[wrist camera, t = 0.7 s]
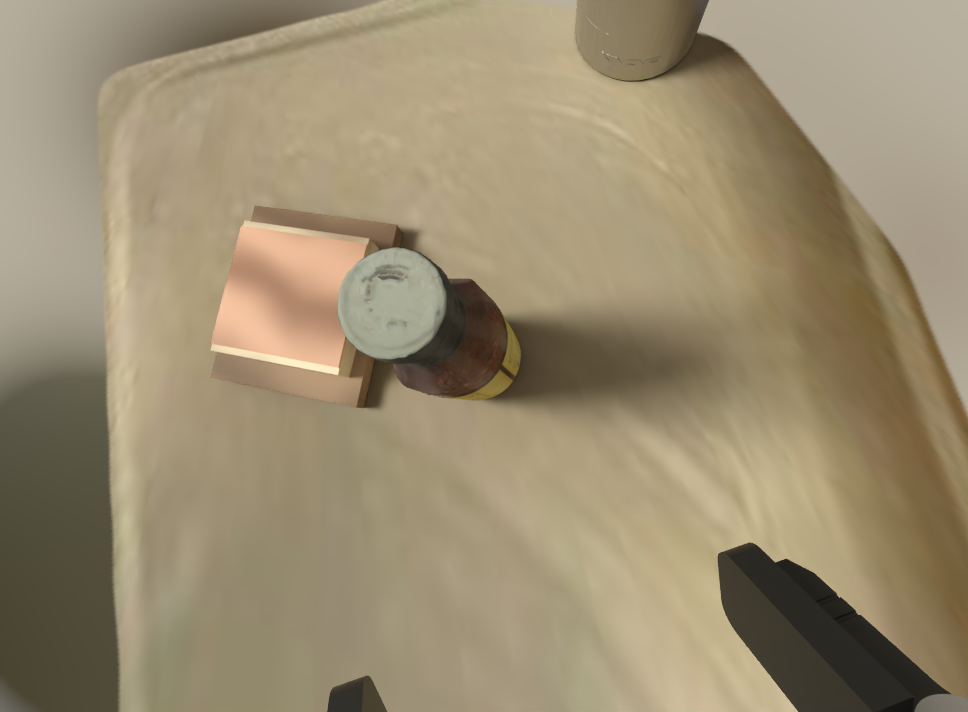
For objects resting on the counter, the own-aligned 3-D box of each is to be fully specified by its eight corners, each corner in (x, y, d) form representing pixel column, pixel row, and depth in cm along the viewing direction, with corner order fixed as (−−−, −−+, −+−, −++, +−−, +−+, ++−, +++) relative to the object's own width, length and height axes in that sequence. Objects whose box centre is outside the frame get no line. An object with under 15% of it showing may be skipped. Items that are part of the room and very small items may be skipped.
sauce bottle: (468, 303, 37) (375, 167, 17) (538, 346, 36) (524, 251, 16) (421, 376, 36) (273, 322, 17) (491, 422, 35) (417, 419, 16)
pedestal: (265, 213, 40) (237, 192, 37) (402, 232, 38) (387, 212, 35) (223, 379, 39) (189, 374, 35) (364, 408, 37) (343, 406, 33)
